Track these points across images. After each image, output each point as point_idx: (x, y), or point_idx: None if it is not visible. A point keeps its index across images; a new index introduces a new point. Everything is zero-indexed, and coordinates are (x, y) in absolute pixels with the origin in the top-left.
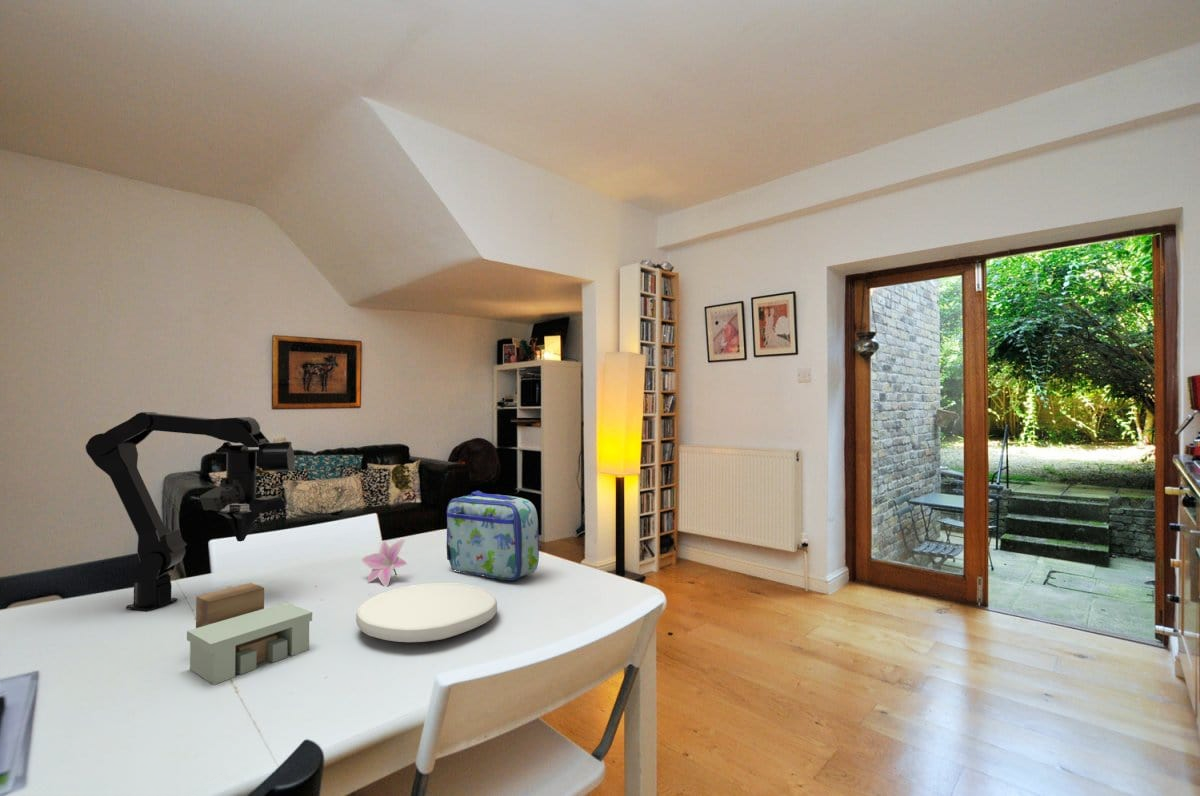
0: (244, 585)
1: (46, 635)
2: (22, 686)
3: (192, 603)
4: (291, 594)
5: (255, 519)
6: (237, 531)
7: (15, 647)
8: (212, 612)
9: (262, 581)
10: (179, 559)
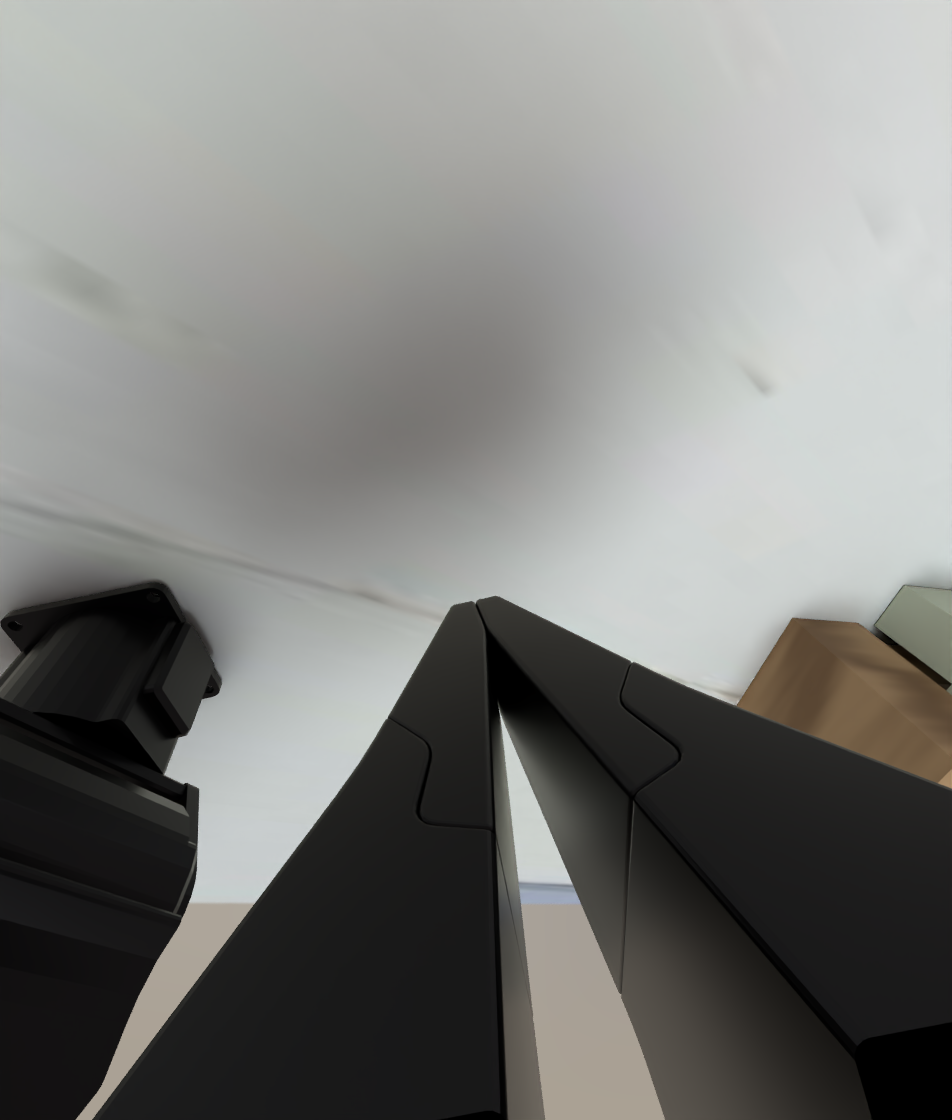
0: (946, 784)
1: (209, 862)
2: (525, 894)
3: (267, 560)
4: (644, 221)
5: (758, 717)
6: (504, 762)
7: (253, 897)
8: None
9: (139, 30)
10: (57, 766)
